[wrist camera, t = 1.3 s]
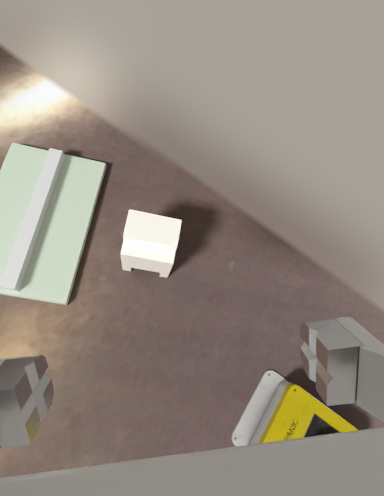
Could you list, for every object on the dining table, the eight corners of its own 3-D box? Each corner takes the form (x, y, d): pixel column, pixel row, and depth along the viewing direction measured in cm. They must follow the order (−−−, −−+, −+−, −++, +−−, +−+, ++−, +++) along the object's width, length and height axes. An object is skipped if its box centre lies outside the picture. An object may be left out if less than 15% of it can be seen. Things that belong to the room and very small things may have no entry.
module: (167, 277, 38) (175, 259, 30) (122, 269, 37) (119, 249, 30) (173, 243, 40) (182, 218, 32) (130, 234, 39) (129, 207, 31)
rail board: (67, 305, 35) (63, 302, 33) (-44, 287, 33) (-57, 282, 31) (106, 167, 41) (104, 156, 39) (14, 147, 40) (7, 135, 38)
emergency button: (366, 548, 29) (239, 452, 30) (338, 523, 33) (226, 439, 34) (397, 452, 32) (282, 368, 33) (367, 441, 36) (266, 366, 37)
